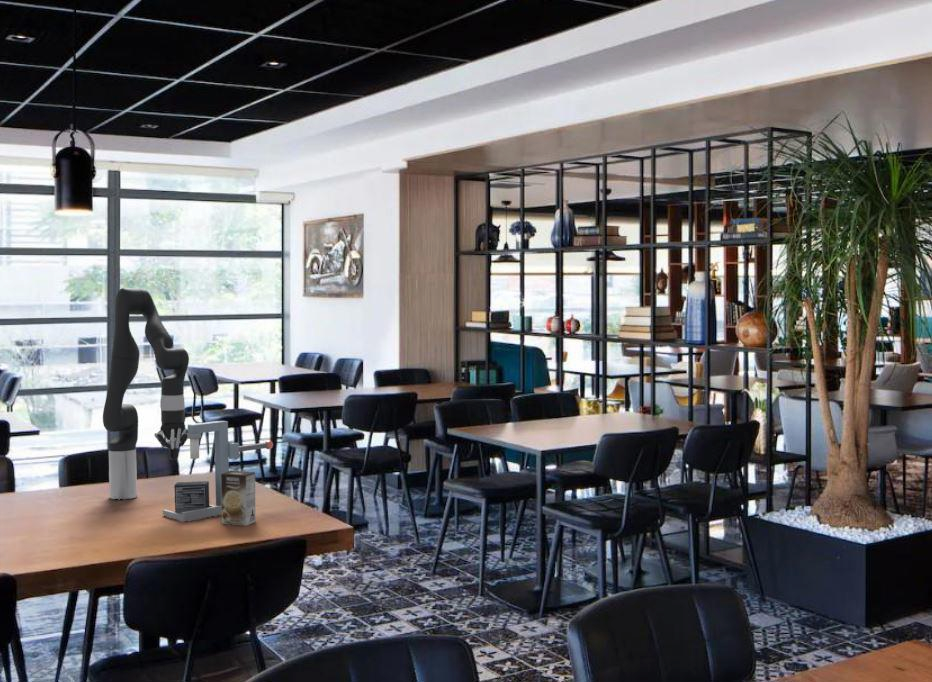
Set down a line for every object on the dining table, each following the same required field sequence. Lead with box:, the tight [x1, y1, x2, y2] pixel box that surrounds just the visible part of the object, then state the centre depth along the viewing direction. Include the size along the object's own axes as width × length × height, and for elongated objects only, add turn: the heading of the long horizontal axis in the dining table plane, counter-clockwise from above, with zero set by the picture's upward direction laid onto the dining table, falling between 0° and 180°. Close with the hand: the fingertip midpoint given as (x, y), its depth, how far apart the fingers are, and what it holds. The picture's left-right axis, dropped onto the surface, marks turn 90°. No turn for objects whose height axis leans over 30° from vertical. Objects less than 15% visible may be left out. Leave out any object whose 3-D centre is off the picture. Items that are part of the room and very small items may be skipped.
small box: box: [173, 480, 210, 514], centre depth 336 cm, size 11×6×10 cm, turn 97°
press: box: [162, 420, 240, 523], centre depth 336 cm, size 13×23×30 cm, turn 135°
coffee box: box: [221, 469, 257, 527], centre depth 322 cm, size 9×6×16 cm
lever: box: [228, 440, 274, 454], centre depth 347 cm, size 3×18×3 cm, turn 135°
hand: (173, 459), depth 342 cm, fingers closed
